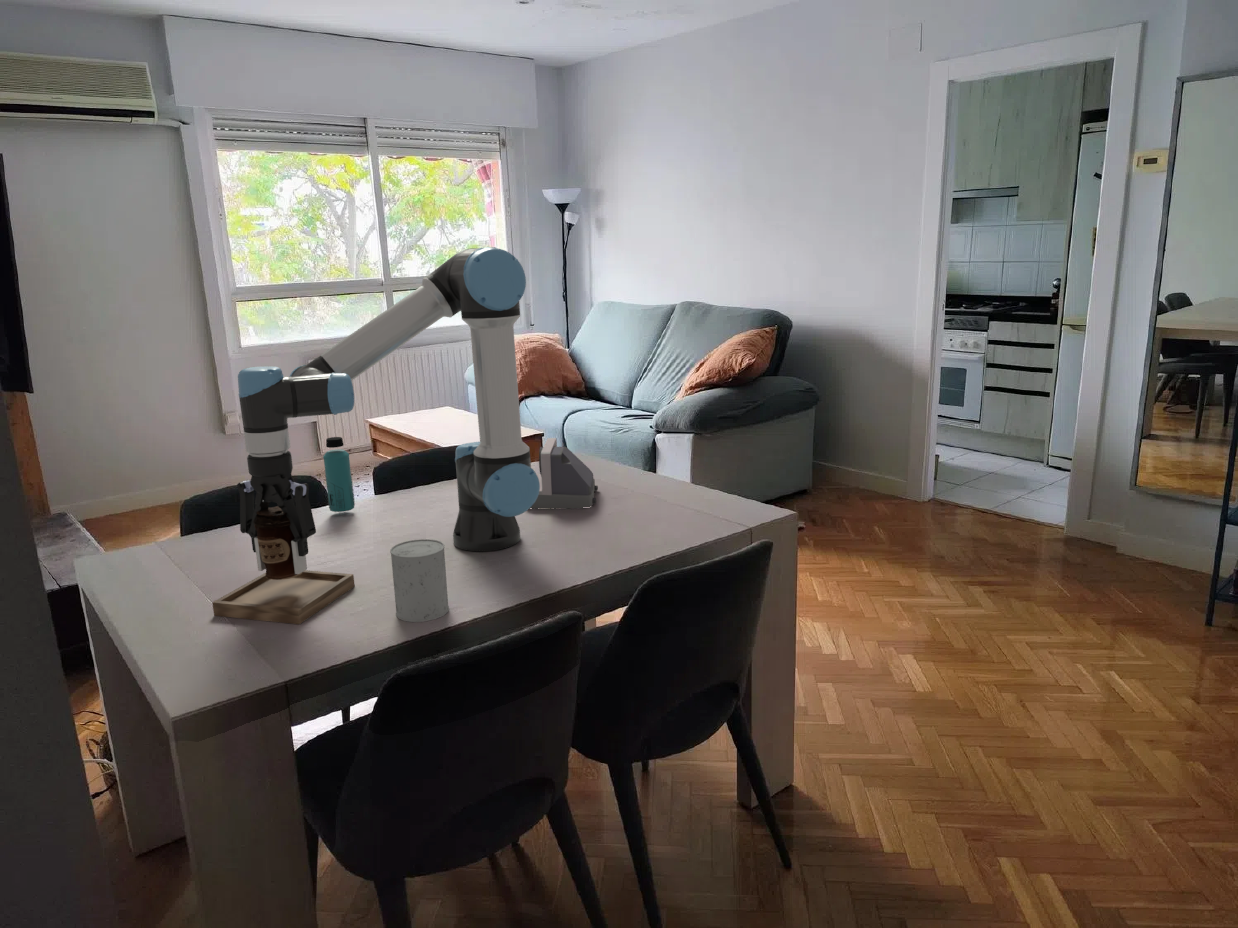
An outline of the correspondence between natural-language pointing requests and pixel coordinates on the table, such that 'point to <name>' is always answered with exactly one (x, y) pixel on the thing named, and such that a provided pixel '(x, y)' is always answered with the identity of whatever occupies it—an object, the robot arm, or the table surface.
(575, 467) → the instant camera
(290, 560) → the coffee cup
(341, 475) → the beverage bottle
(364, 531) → the table surface
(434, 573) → the white speckled cylinder
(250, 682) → the table surface
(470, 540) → the robot arm
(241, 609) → the tray
